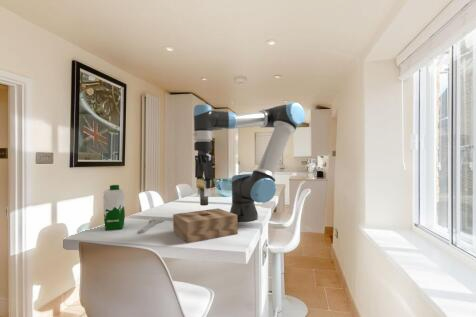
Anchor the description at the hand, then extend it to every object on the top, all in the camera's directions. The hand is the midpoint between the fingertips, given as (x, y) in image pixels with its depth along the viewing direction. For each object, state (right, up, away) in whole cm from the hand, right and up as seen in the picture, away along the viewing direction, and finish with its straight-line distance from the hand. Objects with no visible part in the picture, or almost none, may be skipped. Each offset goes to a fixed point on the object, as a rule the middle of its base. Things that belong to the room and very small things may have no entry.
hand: (204, 195), depth 119 cm
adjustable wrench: (-28, -17, +14) cm, 36 cm away
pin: (0, -4, 0) cm, 4 cm away
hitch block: (0, -16, 0) cm, 16 cm away
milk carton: (-43, -17, +12) cm, 48 cm away
